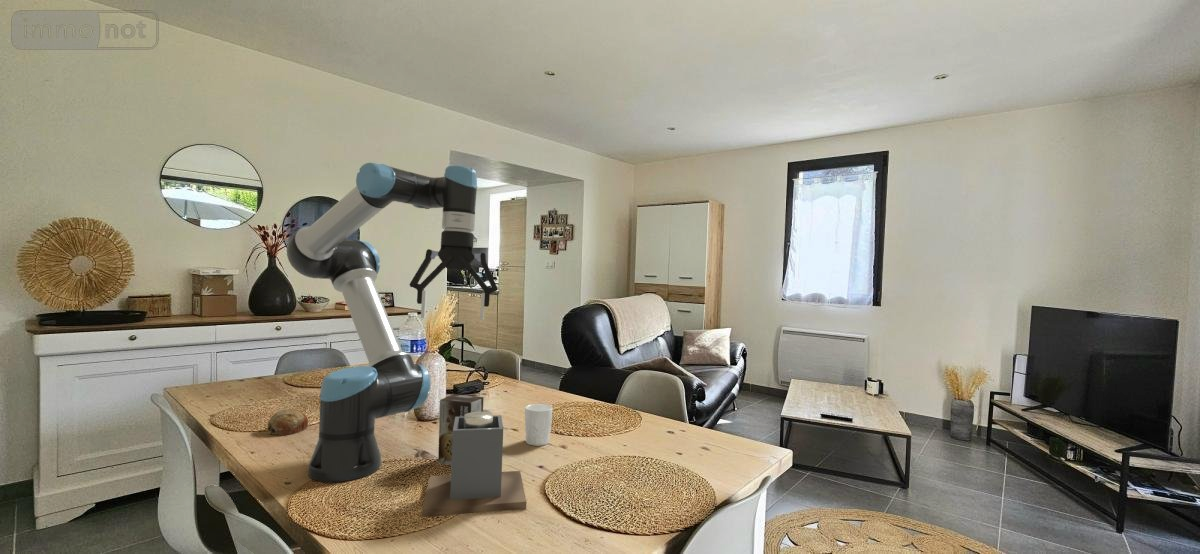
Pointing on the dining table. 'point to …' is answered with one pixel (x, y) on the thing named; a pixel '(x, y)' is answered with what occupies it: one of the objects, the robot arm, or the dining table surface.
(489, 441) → the box
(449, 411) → the coffee box
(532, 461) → the dining table surface
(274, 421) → the brown rounded lump
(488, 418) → the plunger
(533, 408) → the white cup
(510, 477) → the base
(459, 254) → the robot arm
